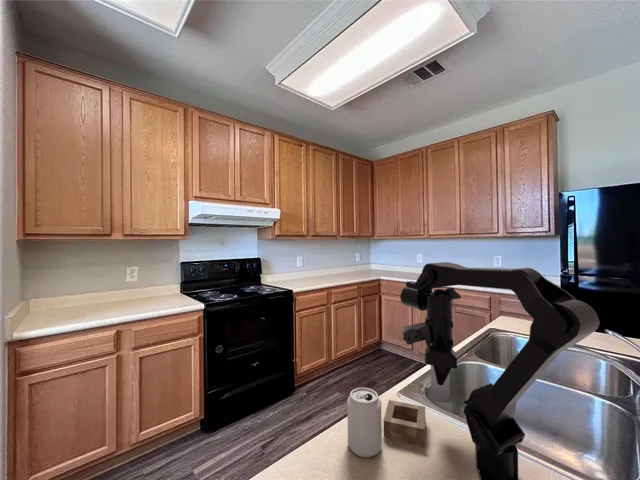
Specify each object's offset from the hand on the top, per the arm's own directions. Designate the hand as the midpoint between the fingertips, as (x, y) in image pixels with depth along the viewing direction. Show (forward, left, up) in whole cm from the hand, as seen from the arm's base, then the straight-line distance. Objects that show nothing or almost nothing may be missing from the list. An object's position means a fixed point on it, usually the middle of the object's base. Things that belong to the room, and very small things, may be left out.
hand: (440, 380), depth 68 cm
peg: (0, 0, -4) cm, 4 cm away
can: (+16, +11, -13) cm, 23 cm away
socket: (+8, +2, -13) cm, 15 cm away
